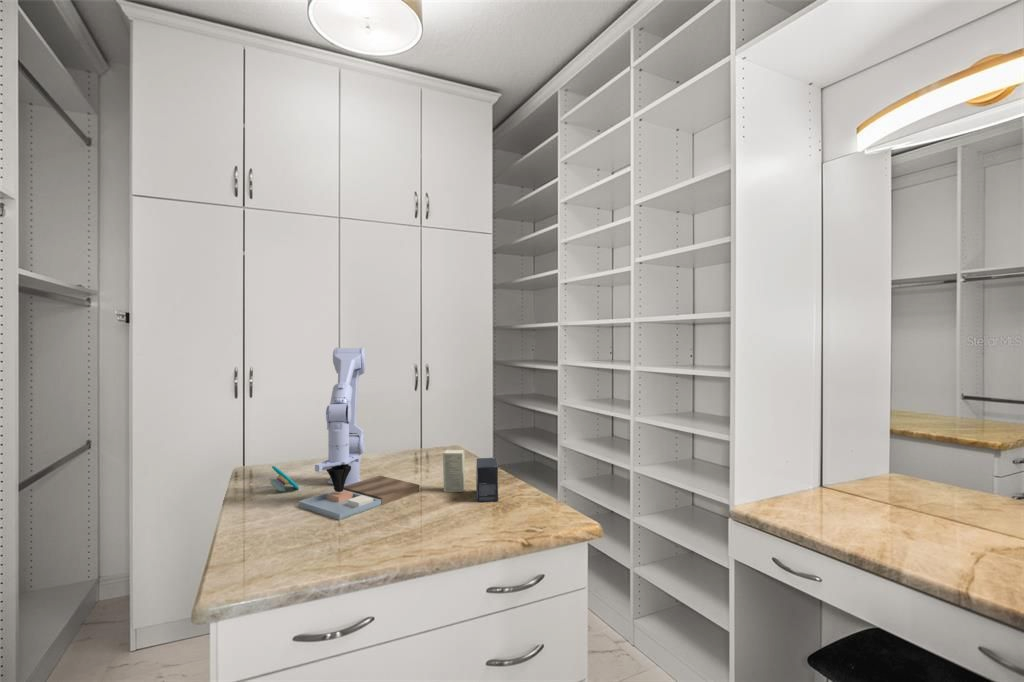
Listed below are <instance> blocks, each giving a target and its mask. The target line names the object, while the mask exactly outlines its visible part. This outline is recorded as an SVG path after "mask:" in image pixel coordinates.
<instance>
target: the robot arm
mask: <svg viewBox="0 0 1024 682" xmlns="http://www.w3.org/2000/svg"><path fill="white" fill-rule="evenodd" d="M366 352H367V351H366V349H365V348H364V347H363V346H362V347H335V348H334V349H333V352H332V363H333V366H334V370H335V372H336V374H338V375H337V383H336V384H334V386H333V387H332V391H331V397H330V403H329V405H326V408H325V409H326V410H325V421H326V430H328V432H327V433H328V435H327V438H328V440H327V441H328V442H327V443H328V444H327V445H328V446H327V447H328V448H327V449H328V450H327V451H328V453H327V454H328V455H327V459H326V460H324V461H321V462H319V463H315V464H314V472H317V473H321V472H323V471H326V472H327V473H328V475H329V481H327V484H330V485H333V490H334V491H336V492H342V491H343V488H344V486H346V485H349V484H353V483H356V482H359V481H363V480H364V479H362V478H361V472H360V471H361V470H360V469H361V467H360V466H361V462H362V455H363V454H364V452H365V446H366V444H365V442H366V440H365V432H364V429H362V428H361V427H360V426H358V425H357V410H358V408H357V406H358V405H357V404H358V388H359V387H358V386H359V385H358V383H359V378H360V376H361V375H364V374H365V372H366V360H367V358H366V357H367V353H366Z"/></svg>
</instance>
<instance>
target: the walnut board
mask: <svg viewBox="0 0 1024 682" xmlns="http://www.w3.org/2000/svg"><path fill="white" fill-rule="evenodd" d="M420 486H421V485H420V484H417V483H414V482H413V483H412V482H410V481H405V480H401V479H396V478H392V477H389V476H388V477H387V476H384V475H376V476H373V477H370V478H367V479H363V481H359V482H356V483H353V484H349V485H346V486H344V488H343V490H347V491H351V492H354V493H358V494H362V495H365V496H369V497H373V498H376V499H380V500H381V505H380V506H383V505H386V504H388V503H391V502H394V501H396V500H397V501H398V500H399V499H403V498H404V497H407V496H410V495H414V494H416V493H419V492H420V491H421V489H420Z"/></svg>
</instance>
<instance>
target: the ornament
mask: <svg viewBox="0 0 1024 682" xmlns="http://www.w3.org/2000/svg"><path fill="white" fill-rule="evenodd" d="M271 468H272V470H274V472H275V473H276V474H278V476H277V478H270V480H269V481H270V482H269V483H270V485H272V486H273V487H274V488H275V489H276V490H277V491H279V492H280V493H283V492H284V491H286V485H287V484H290V486H292V487H293V488H294V489H297V490H299V489H300V487H299V486H298V485H297V483H296V482H294V481H293V480H292V478H290V477H289V476H287V474H286V473H284V472H283V471H282V470H280V469H279V468H278V467H276V465H275V466H274V465H271Z"/></svg>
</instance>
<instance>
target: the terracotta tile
mask: <svg viewBox="0 0 1024 682" xmlns="http://www.w3.org/2000/svg"><path fill="white" fill-rule="evenodd" d="M351 498H353V492H349V491H345V490H343V491H342V492H333V493H329V494H328V499H329V500H332V501H336V502H341V501H344V500H348V499H351Z"/></svg>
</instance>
